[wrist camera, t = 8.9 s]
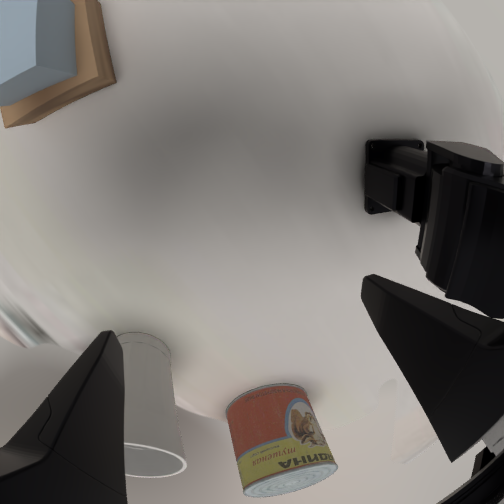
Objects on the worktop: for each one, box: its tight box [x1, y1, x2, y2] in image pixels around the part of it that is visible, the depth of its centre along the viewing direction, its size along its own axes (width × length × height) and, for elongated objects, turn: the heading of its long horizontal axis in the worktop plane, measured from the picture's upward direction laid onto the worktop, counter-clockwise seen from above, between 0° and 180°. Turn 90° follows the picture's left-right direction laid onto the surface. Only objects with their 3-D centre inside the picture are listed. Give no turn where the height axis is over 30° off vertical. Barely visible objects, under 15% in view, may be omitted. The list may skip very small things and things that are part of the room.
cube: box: [0, 0, 77, 106], centre depth 7 cm, size 5×5×5 cm
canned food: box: [226, 384, 338, 497], centre depth 30 cm, size 11×11×12 cm
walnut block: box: [0, 0, 117, 128], centre depth 12 cm, size 7×7×4 cm
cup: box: [117, 332, 187, 478], centre depth 21 cm, size 8×8×12 cm
